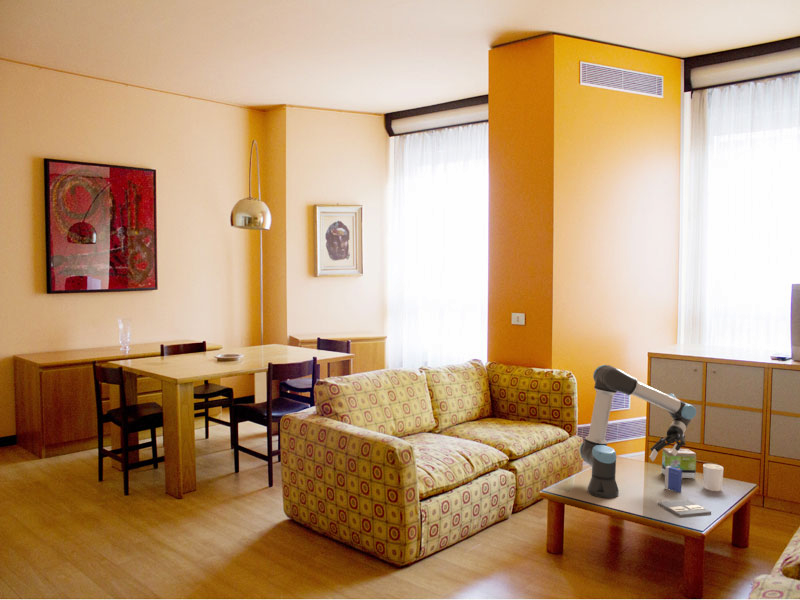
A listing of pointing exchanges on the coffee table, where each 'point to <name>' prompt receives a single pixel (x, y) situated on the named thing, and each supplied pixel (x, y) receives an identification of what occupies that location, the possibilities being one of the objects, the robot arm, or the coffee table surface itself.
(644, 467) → the coffee table surface
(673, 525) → the coffee table surface
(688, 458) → the tea box
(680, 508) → the label board
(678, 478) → the walkman
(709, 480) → the candle holder
